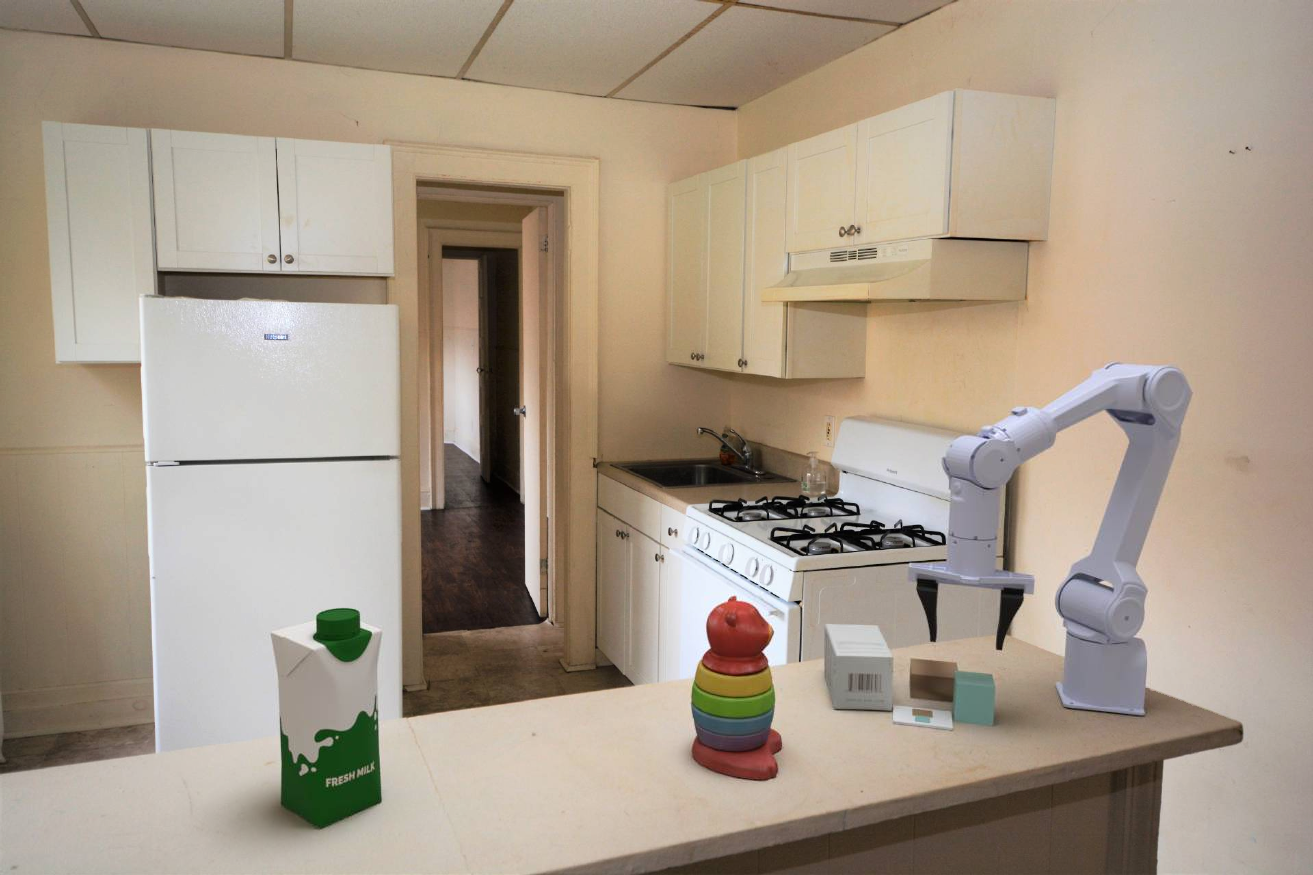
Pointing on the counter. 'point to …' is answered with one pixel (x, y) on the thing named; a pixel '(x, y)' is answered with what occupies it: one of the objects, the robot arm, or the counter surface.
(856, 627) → the supplement box
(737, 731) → the stacking bear
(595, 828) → the counter surface
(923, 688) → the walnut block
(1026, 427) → the robot arm
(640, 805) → the counter surface
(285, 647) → the milk carton
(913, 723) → the page
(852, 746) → the counter surface
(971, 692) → the teal block
